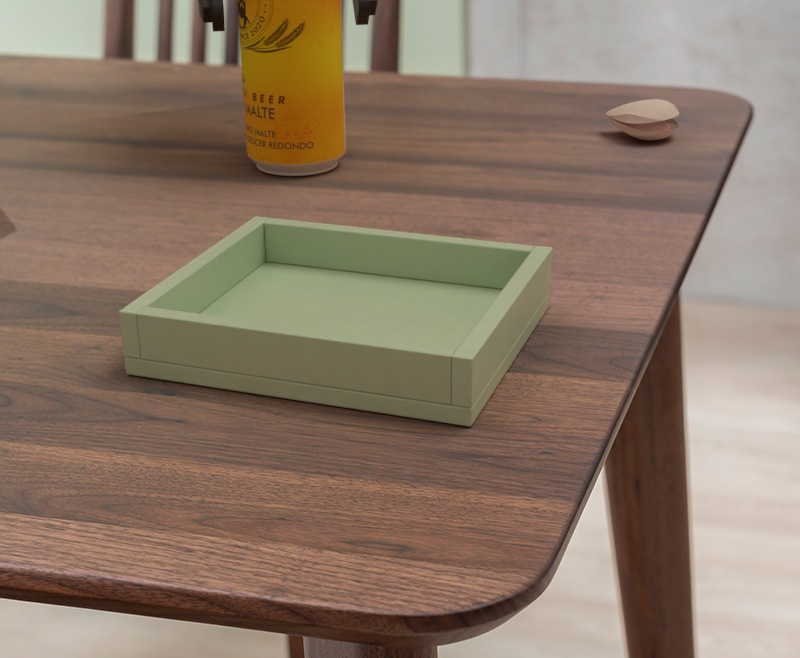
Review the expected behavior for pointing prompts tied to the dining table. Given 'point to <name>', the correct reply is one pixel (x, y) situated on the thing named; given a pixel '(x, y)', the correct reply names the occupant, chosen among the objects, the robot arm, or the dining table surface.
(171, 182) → the dining table surface
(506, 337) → the serving tray
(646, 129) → the pistachio shell
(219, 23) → the robot arm
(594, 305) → the dining table surface
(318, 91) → the beer can
